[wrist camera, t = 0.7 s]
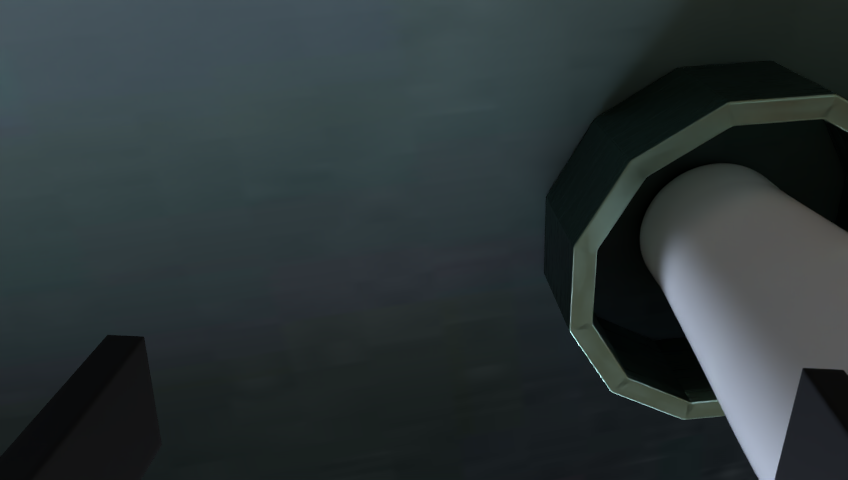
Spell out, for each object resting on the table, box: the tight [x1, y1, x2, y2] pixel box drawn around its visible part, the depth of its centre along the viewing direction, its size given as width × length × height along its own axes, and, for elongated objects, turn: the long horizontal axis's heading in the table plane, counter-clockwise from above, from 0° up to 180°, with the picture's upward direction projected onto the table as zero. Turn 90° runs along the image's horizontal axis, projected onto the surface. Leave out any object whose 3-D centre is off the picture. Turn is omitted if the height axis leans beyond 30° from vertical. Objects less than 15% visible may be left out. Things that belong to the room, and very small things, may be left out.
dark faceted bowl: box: [544, 61, 848, 420], centre depth 27 cm, size 12×12×4 cm
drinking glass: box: [639, 163, 848, 480], centre depth 22 cm, size 7×7×15 cm
